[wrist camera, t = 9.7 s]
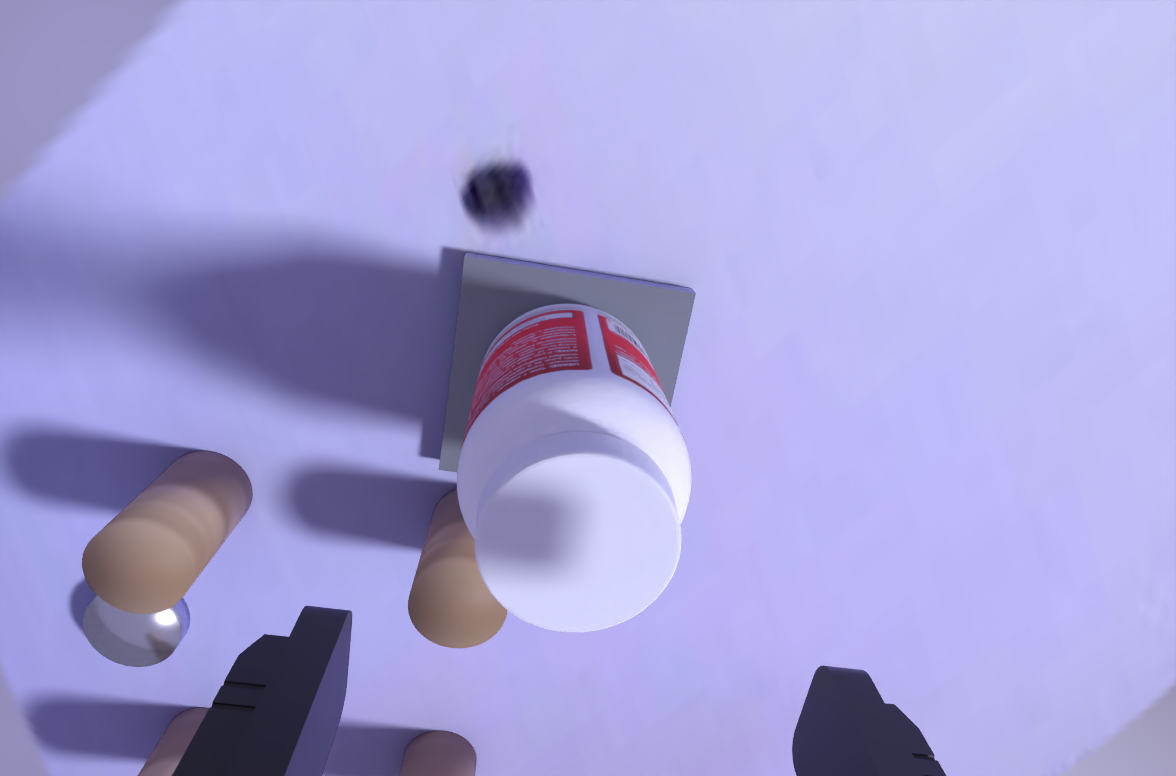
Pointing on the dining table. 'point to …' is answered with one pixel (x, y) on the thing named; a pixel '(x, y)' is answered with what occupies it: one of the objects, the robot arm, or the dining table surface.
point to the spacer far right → (439, 756)
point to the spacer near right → (452, 584)
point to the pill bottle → (572, 471)
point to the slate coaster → (520, 286)
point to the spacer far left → (173, 743)
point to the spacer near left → (167, 533)
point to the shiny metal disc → (135, 632)
